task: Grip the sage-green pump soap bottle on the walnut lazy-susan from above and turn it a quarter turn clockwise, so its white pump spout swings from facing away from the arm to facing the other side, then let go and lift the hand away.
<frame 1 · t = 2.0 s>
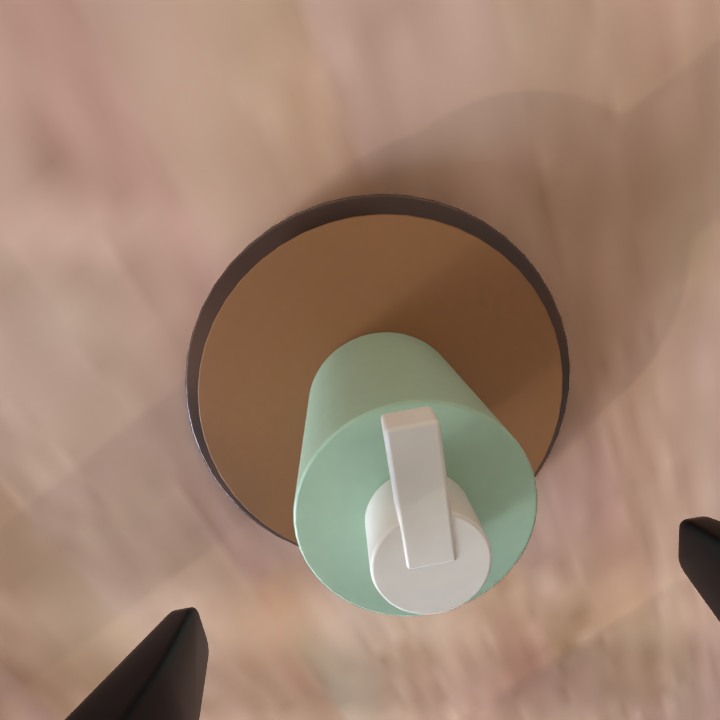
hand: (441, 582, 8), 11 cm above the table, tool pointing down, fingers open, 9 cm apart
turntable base: (379, 389, 19), on the table
soap bottle: (398, 454, 13), point 6 cm above the table, hinge at 0.0°
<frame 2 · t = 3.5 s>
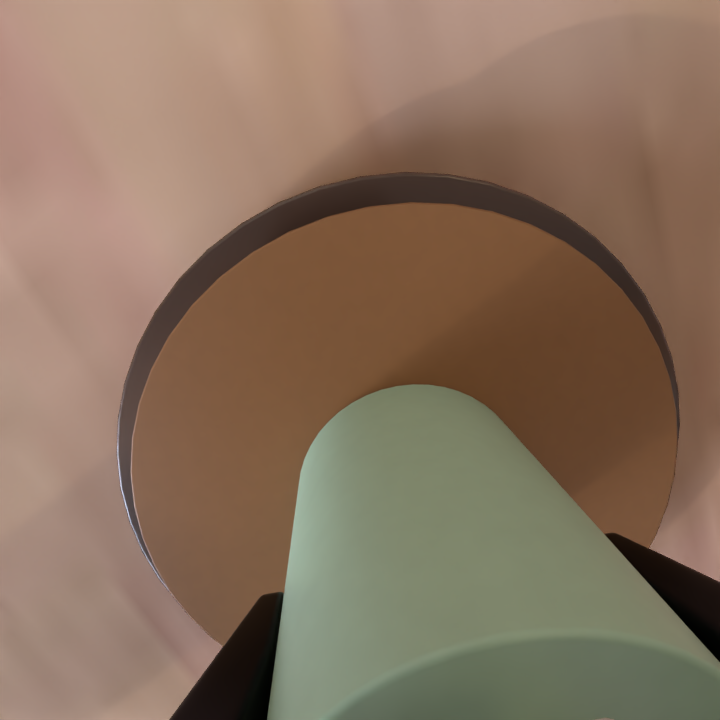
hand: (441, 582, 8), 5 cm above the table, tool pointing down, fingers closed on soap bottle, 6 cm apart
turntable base: (401, 455, 13), on the table
soap bottle: (450, 615, 8), point 6 cm above the table, hinge at 0.0°, touching gripper
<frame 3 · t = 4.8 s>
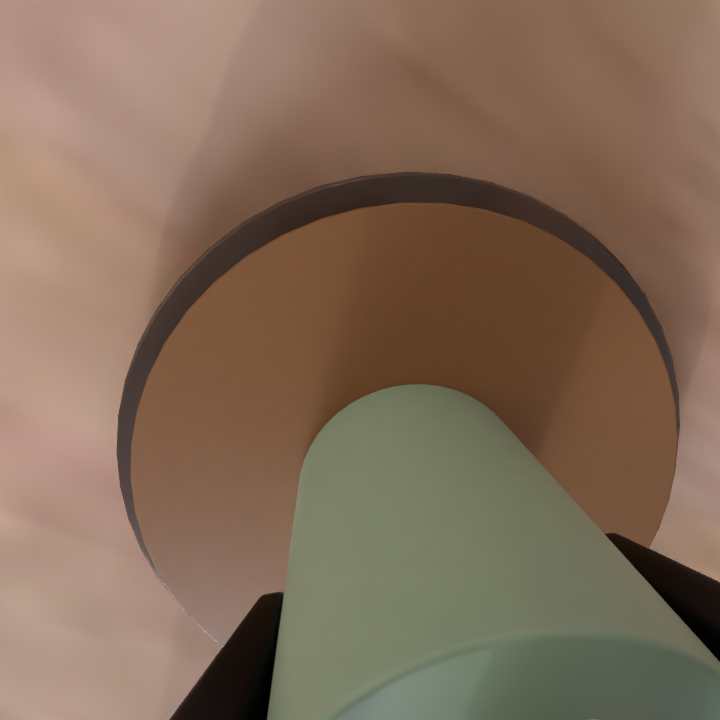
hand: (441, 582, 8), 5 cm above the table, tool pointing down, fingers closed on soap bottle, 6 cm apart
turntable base: (401, 455, 13), on the table
soap bottle: (450, 615, 8), point 6 cm above the table, hinge at -35.8°, touching gripper
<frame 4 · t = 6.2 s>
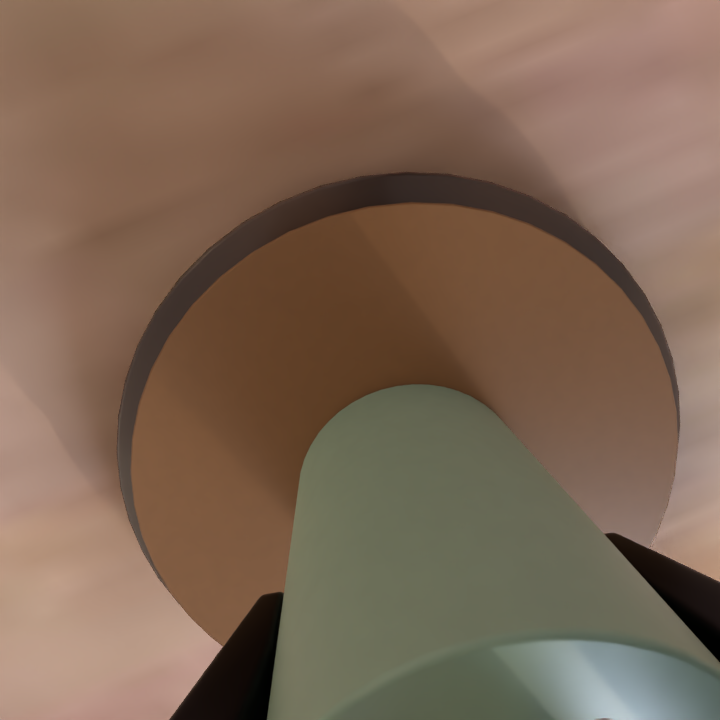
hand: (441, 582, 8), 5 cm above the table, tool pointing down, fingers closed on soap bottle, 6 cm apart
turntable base: (401, 455, 13), on the table
soap bottle: (450, 615, 8), point 6 cm above the table, hinge at -89.7°, touching gripper
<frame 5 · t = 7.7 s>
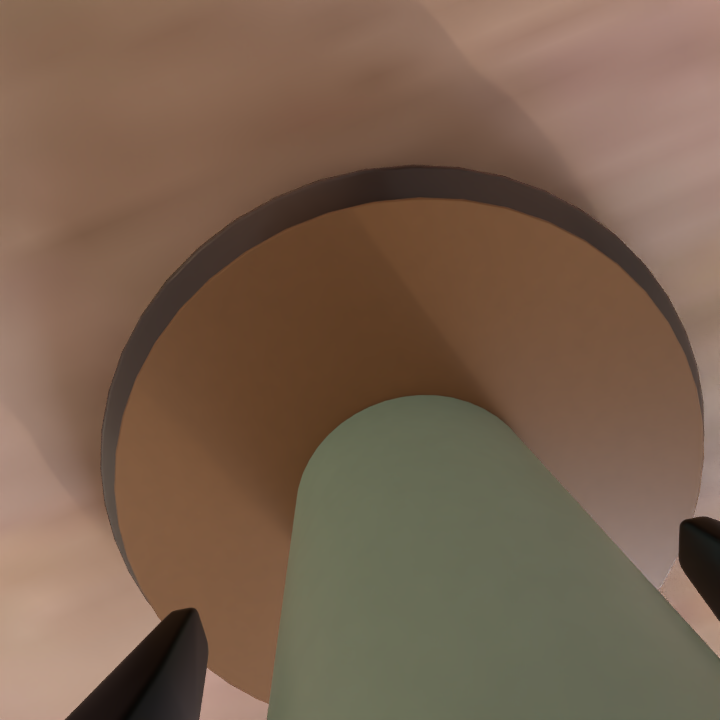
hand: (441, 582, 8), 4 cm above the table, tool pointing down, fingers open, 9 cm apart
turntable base: (405, 468, 12), on the table
soap bottle: (464, 658, 7), point 6 cm above the table, hinge at -89.9°
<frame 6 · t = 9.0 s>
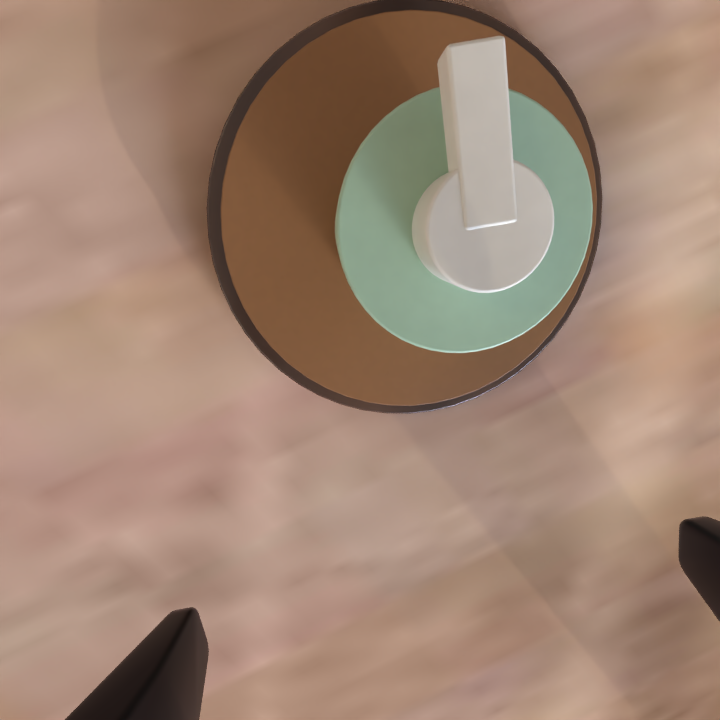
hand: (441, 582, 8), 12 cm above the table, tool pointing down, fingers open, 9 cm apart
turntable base: (404, 229, 18), on the table
soap bottle: (435, 228, 13), point 6 cm above the table, hinge at -89.9°
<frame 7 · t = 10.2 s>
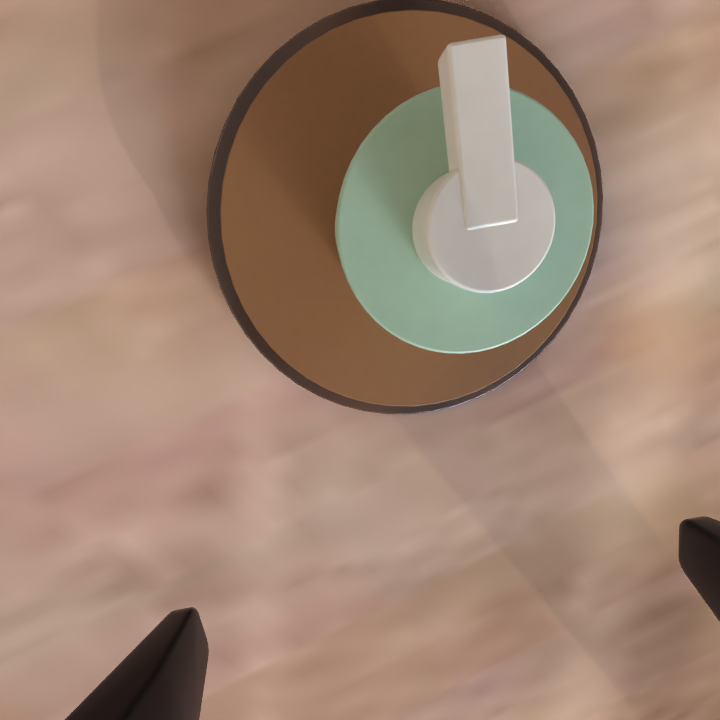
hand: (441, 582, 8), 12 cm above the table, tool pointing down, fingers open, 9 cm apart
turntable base: (404, 229, 18), on the table
soap bottle: (436, 228, 13), point 6 cm above the table, hinge at -89.9°
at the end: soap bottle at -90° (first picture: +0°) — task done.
